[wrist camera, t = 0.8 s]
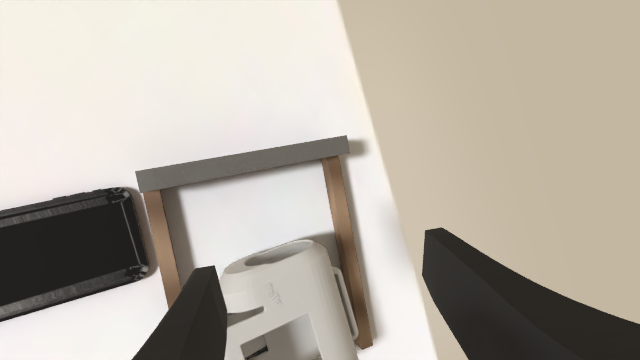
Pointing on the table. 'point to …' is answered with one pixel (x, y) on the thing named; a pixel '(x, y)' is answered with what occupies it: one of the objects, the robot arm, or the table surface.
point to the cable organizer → (288, 306)
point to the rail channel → (248, 162)
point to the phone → (68, 250)
